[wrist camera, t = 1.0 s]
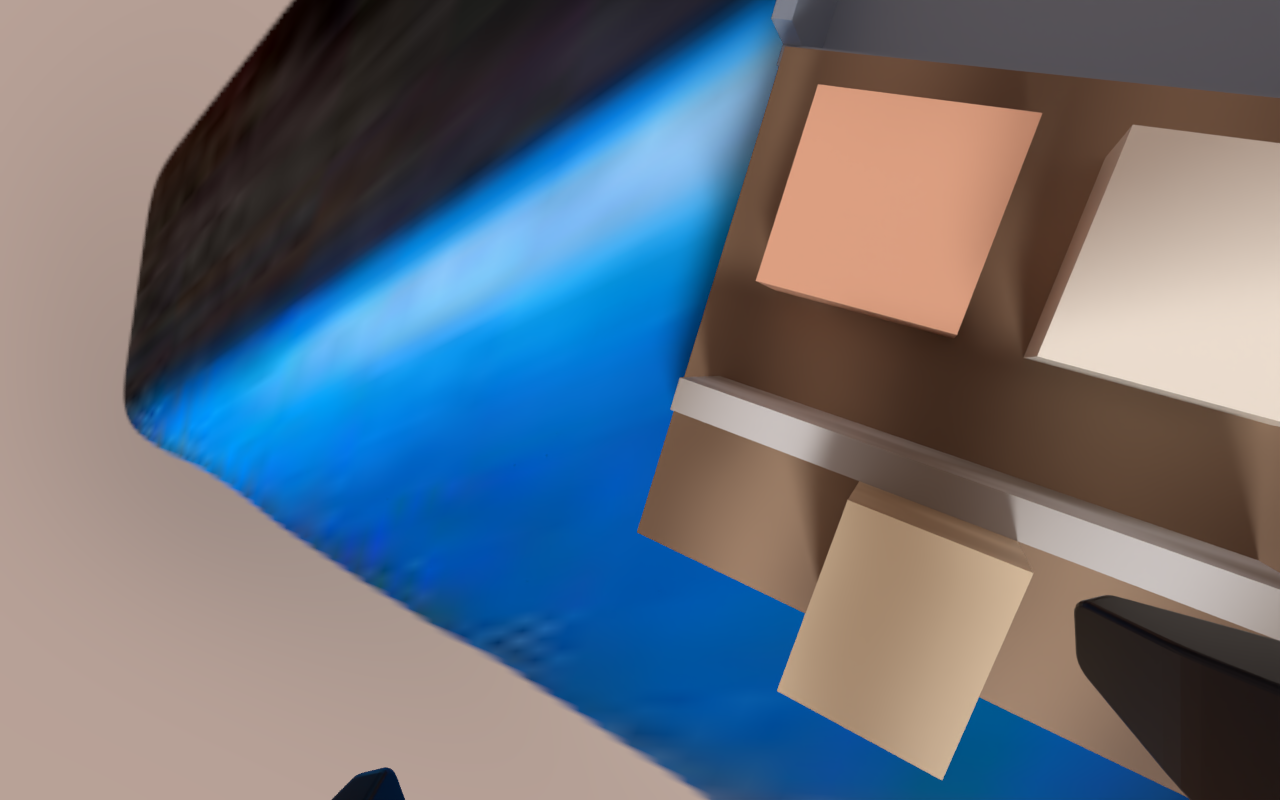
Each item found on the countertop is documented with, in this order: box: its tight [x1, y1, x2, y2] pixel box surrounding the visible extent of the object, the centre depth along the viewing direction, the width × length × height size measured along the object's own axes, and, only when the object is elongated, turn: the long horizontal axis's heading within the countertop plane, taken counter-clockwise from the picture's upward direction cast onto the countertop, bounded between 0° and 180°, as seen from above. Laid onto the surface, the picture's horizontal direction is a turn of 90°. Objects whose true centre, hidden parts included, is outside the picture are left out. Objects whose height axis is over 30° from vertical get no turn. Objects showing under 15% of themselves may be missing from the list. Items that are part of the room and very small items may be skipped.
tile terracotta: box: [756, 84, 1042, 339], centre depth 14 cm, size 4×4×2 cm
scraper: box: [671, 376, 1280, 780], centre depth 13 cm, size 12×5×5 cm, turn 73°
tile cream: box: [1024, 125, 1280, 427], centre depth 12 cm, size 4×4×2 cm
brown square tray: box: [637, 46, 1280, 797], centre depth 17 cm, size 14×14×5 cm
